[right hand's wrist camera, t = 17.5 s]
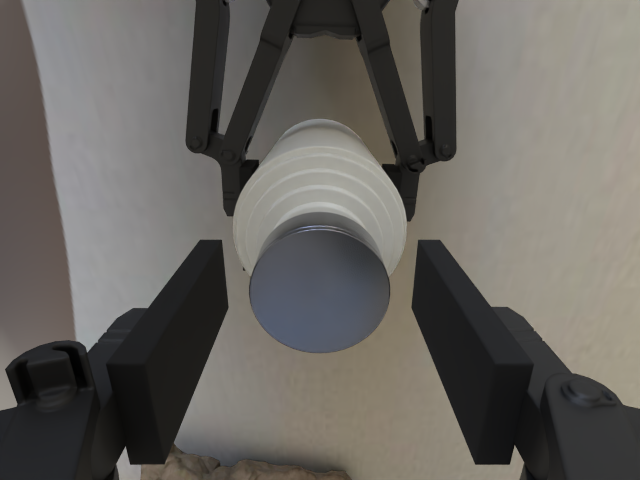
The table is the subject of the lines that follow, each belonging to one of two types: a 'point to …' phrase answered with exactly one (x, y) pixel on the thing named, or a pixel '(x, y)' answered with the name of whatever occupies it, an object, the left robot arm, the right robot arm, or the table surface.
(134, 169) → the table surface
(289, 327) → the cap
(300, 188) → the bottle
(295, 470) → the stone
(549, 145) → the table surface
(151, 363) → the right robot arm
